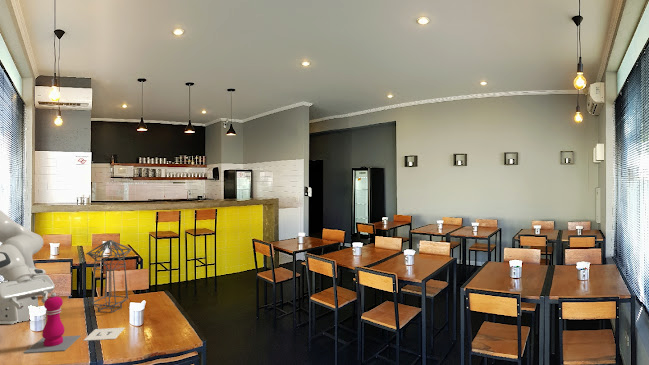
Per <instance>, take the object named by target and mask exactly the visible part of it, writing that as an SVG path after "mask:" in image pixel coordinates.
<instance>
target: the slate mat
mask: <svg viewBox="0 0 649 365" xmlns="http://www.w3.org/2000/svg"><path fill="white" fill-rule="evenodd" d="M62 337H63V342H62V343H61V344H59V345H56V346H51V347H47V346H44V340H45V338H43V337H41V339H39V340H38V341H37V342H35V343H34V344H32V345H31V346H29V347H28V348H27V349H26V350H24V351H23V352H22V354H23V353H24V354H36V353H38V352H39V353H50V352H52V353H53V352H65V351H67V350H68V349H69V348H70V347H71V346H72V345H73V344H74V343H75V342H76V341H77V340H79V338H81V335H67V336H63V335H62Z"/></svg>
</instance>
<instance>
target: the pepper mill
mask: <svg viewBox="0 0 649 365" xmlns="http://www.w3.org/2000/svg"><path fill="white" fill-rule="evenodd" d="M47 298H48V299H47V300H46V301H45V303H43V306H44V308H45V309H46V310H45V315H46V323H45V325H44V327H43V329H42V334H41V335H42V338H45V340H44V346H47V347H51V346H56V345H59V344H61V343H62V342H63V337H62V336H63V335H64V334H65V327H64V324H63V323H62V320H61V312H62V308H61V307H62V306H63V303H64V302H63V299H62V297H60V296H57V293H56V292H51V293H50V297H47Z"/></svg>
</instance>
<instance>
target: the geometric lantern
mask: <svg viewBox="0 0 649 365" xmlns="http://www.w3.org/2000/svg"><path fill="white" fill-rule="evenodd" d="M120 246H121V247H123V248H121V247H120ZM106 249H108V250H110V254H104V253H105V251H106ZM132 250H133V248H132V247H128V246H127V245H123V244H121V243H118V242H116V241H114V240H112V239H110V240H109V239H108V240H107V241H106V240H105V242H103V243H101V244H99V245H98V246H97V247H94V248H93V249H91V250H90V251H88V252H86V255H88V256H89V257H91V259H93V260H94V264H93V282H92V291H91V302H90V303H91V305H93V306H94V307H95V308H97V312H98V313H106V311H102V310H107V309H108V310H110V313H111V314H112V313H115V312H116V311H118V310H120V309H122V308H123V303H124V302H126V301H128V300H129V291H128V280H127V271H126V268H127V267H126V266H127V265H126V261H125V258H126V256H127V255H128V254H130V253H131V251H132ZM119 251H120V252H121V253H120V252H119ZM101 252H102V253H101ZM112 256H113V258H112V260H111V261H110V262H109V263H108V261H107V259H108V258H110V257H112ZM104 257H105V258H104ZM98 258H99V260H98ZM115 258H116V259H118V261H117V263H115V266H114V267H113V269H112V264H113V261H114V260H115ZM121 260H122V262H123V263H121V264H120V263H119V262H120V261H121ZM104 261H105V262H104ZM96 262H97V264H96ZM99 262H102V263H103V264H102V265H101V264H100V265H99V266H98V264H99ZM108 265H109V267H108ZM117 265H121V266H119V267H116V266H117ZM103 266H104V267H105V268H104V269H102V268H100V267H103ZM120 268H124V270H123V271H124V289H125V296H124V295H116V282H115V270H118V269H120ZM96 271H105V282H104V296H103V297H101V298H99V299H96V300H95V280H96V279H95V278H96ZM112 280H113V281H112ZM107 281H108V282H107ZM112 282H113V294H112ZM107 283H108V295H107ZM111 297H113V298H114V301H112V302H111ZM106 298H108V301H107V299H106ZM117 298H123V300H121V301H118V302H117ZM102 299H104V300H105V303H103V304H99V303H96V302H99V301H100V300H102ZM115 308H117V309H115Z"/></svg>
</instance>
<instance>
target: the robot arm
mask: <svg viewBox="0 0 649 365" xmlns="http://www.w3.org/2000/svg"><path fill="white" fill-rule="evenodd" d="M0 243H1V244H0V276H2V277H3V279H4V280H0V324H11V325H15V324H14V323H16V324H18V323H17V322H19V323H22V321H23V322H27V321H30V320H29V309H28V306H30V305H32V306H36V307H38V306H39V307H40V305H39V296H41V297H42V298H41V302H42V304H44V303H45V301H46V300H47V299H48V298H49V297H48V296H49V294H52V293H53V291H54V289H55V287H56V286H55V283H54V282H53V280H52V279H51V277H50V276H49V275H48V274H46V273H47V272H46V270H45V269H43V268H37V267H36V266H35V263H34V260H33V255H35V254H37V253H38V252H39V251H41V249H42V248H43V246H44V244H45V243H44V239H43V237H42V236H41V235H40V234H38V233H35V232H33V231H32V230H30V229H28V228H27V227H25V226H23V225H21V224H19V223H18V222H16V221H14V220H13V219H11V218H10V217H9V216H8V215H7V214H5V213H4V212H3V211H2V210H0Z"/></svg>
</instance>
